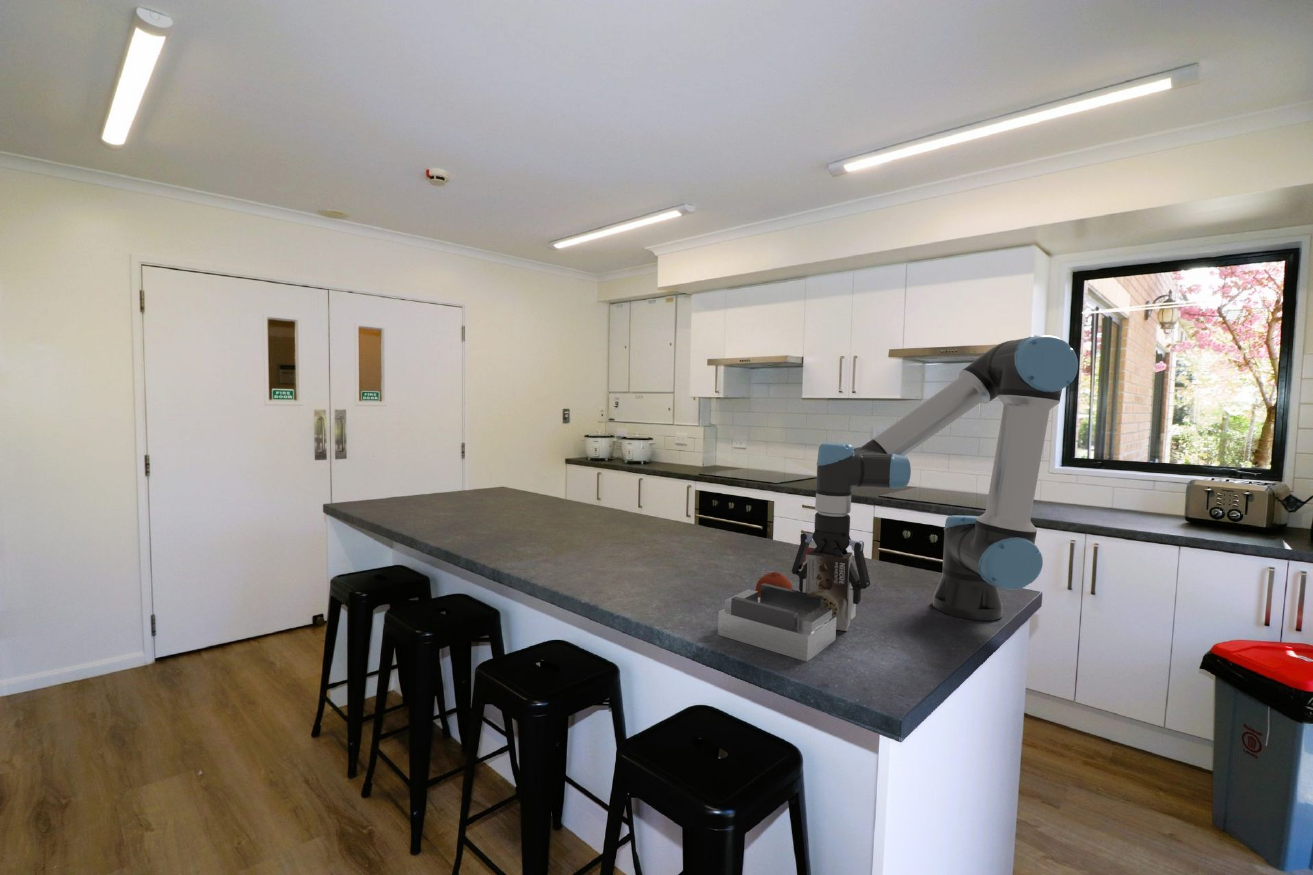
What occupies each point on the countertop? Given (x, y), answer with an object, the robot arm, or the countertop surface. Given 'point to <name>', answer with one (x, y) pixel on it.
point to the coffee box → (830, 583)
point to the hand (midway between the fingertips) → (828, 611)
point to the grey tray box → (779, 621)
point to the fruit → (773, 581)
